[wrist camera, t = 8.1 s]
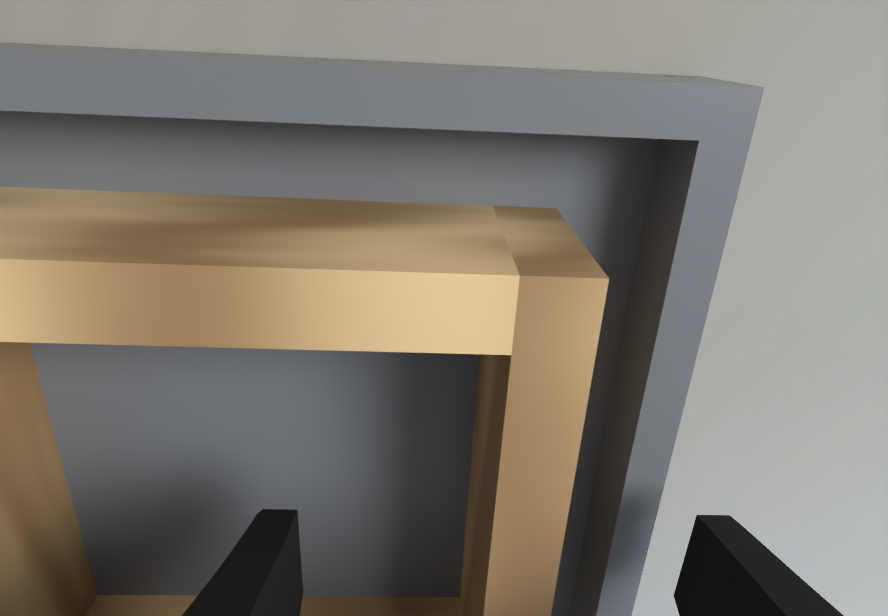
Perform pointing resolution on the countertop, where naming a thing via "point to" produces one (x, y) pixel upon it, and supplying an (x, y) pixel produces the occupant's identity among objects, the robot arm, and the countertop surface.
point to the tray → (365, 372)
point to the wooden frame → (304, 328)
